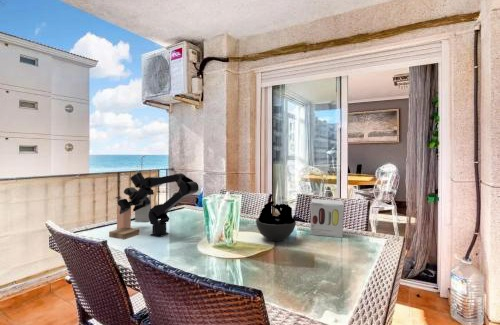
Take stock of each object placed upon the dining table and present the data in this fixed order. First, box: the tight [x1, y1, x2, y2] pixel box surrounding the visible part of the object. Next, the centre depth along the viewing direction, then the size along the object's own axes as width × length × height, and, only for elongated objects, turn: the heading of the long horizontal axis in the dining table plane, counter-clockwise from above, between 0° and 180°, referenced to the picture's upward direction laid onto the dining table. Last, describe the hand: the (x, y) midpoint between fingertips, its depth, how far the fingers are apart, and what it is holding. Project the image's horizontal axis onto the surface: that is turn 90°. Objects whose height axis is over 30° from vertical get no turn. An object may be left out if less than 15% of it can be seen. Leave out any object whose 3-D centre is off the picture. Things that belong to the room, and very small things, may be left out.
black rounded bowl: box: [255, 200, 297, 242], centre depth 142 cm, size 20×20×19 cm
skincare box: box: [134, 195, 152, 223], centre depth 177 cm, size 8×7×16 cm
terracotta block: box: [116, 205, 132, 230], centre depth 158 cm, size 5×5×13 cm
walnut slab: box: [108, 227, 140, 240], centre depth 145 cm, size 10×10×3 cm
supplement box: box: [309, 198, 345, 238], centre depth 157 cm, size 17×13×18 cm
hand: (126, 212), depth 157 cm, fingers open, 9 cm apart
